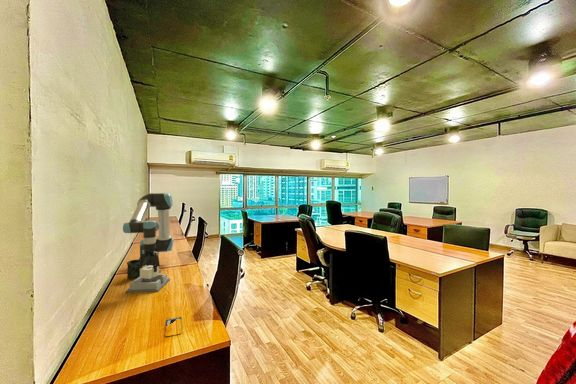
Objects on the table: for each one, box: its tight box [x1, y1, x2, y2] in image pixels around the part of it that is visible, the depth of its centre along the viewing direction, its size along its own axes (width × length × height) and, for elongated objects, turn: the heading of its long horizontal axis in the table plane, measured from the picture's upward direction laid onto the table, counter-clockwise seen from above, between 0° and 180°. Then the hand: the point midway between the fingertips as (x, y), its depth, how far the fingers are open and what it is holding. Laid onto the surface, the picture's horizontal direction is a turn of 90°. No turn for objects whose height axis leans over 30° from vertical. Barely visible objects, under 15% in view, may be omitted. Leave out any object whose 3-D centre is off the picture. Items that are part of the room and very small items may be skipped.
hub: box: [140, 265, 162, 279], centre depth 167 cm, size 13×8×6 cm, turn 163°
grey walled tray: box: [125, 273, 171, 294], centre depth 164 cm, size 20×20×5 cm
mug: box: [126, 259, 142, 280], centre depth 179 cm, size 11×15×12 cm
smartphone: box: [164, 316, 182, 326], centre depth 116 cm, size 7×1×15 cm
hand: (149, 275), depth 164 cm, fingers closed on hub, 8 cm apart
